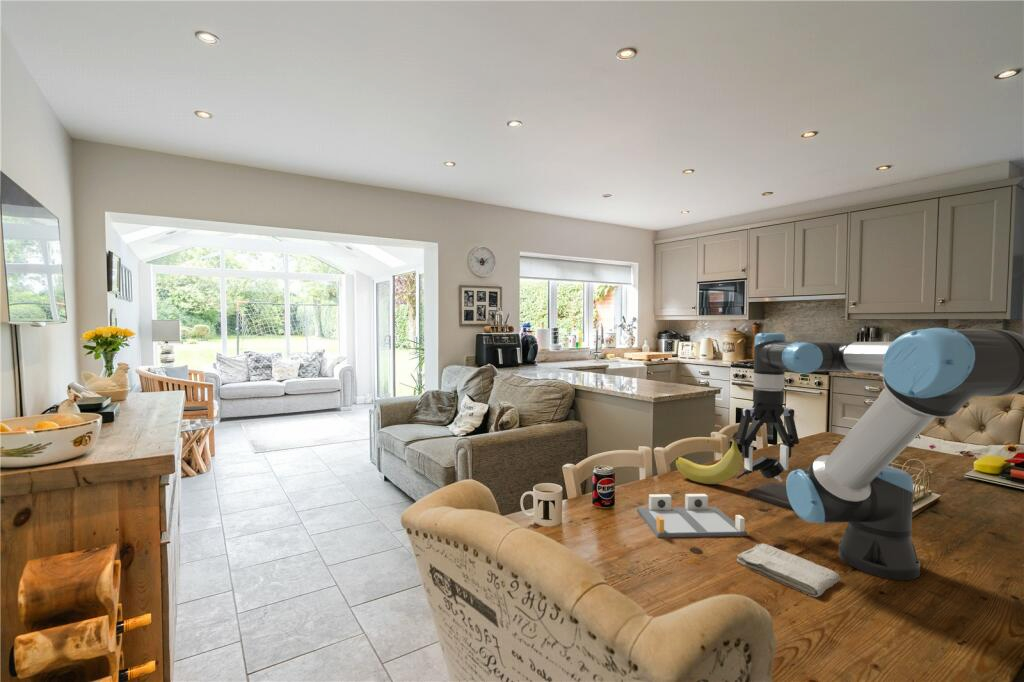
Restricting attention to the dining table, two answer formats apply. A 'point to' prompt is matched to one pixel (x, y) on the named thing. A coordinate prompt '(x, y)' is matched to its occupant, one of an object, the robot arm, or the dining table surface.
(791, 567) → the washcloth
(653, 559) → the dining table surface
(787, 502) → the hardcover book
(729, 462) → the banana
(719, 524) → the board
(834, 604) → the dining table surface
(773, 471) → the power plug
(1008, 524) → the dining table surface
